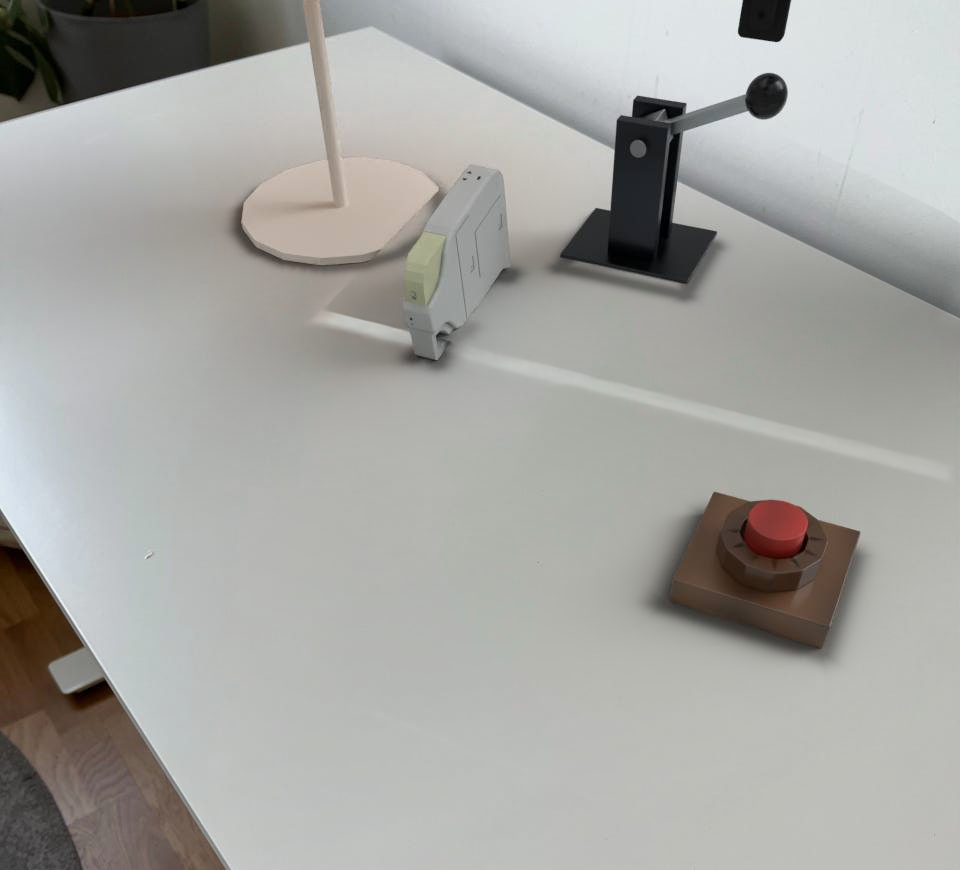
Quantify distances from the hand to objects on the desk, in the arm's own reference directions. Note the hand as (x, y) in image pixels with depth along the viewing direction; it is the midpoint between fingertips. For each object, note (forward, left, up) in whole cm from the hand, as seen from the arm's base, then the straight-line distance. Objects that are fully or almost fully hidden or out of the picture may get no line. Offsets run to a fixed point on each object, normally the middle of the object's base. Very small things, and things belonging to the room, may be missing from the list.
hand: (777, 13), depth 72 cm
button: (-12, +35, -17) cm, 41 cm away
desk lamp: (+39, +3, -21) cm, 44 cm away
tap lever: (+4, 0, -9) cm, 10 cm away
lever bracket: (+9, 0, -21) cm, 23 cm away
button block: (-12, +35, -21) cm, 42 cm away
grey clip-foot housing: (+20, +15, -21) cm, 33 cm away
